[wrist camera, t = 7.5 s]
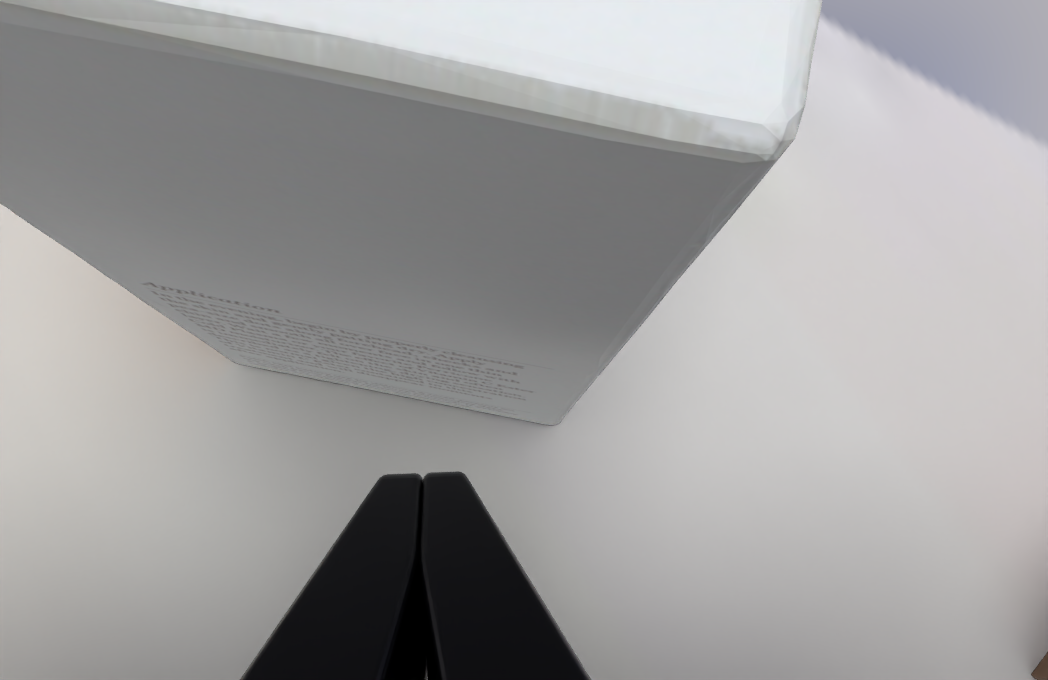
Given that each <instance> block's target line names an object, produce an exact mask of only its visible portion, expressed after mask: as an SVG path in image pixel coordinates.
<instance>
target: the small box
mask: <svg viewBox="0 0 1048 680" xmlns="http://www.w3.org/2000/svg"><path fill="white" fill-rule="evenodd" d="M821 5H822V0H0V203H1V204H2V205H4V206H5V207H7V208H8V209H10V210H11V211H12V212H14V213H15V214H16V215H18V216H19V217H21V218H22V219H24V220H25V221H27V222H28V223H30V224H31V225H33V226H34V227H36V228H37V229H38V230H40V231H41V232H43V233H44V234H46V235H47V236H49V237H50V238H52V239H53V240H55V241H56V242H58V243H59V244H61V245H62V246H64V247H65V248H67V249H68V250H70V251H71V252H73V253H74V254H76V255H77V256H79V257H80V258H82V259H83V260H84V261H86V262H87V263H89V264H90V265H91V266H93V267H94V268H96V269H97V270H99V271H100V272H101V273H103V274H104V275H106V276H107V277H109V278H110V279H112V280H113V281H115V282H117V283H118V284H120V285H121V286H122V287H124V288H125V289H127V290H128V291H129V292H131V293H132V294H134V295H135V296H136V297H138V298H139V299H141V300H142V301H143V302H145V303H146V304H148V305H149V306H151V307H152V308H154V309H155V310H157V311H158V312H160V313H162V314H163V315H164V316H166V317H167V318H169V319H170V320H172V321H173V322H175V323H176V324H178V325H179V326H181V327H182V328H184V329H185V330H187V331H189V332H190V333H192V334H193V335H195V336H196V337H198V338H199V339H201V340H202V341H204V342H205V343H207V344H208V345H209V346H211V347H212V348H214V349H215V350H217V351H218V352H220V353H221V354H222V355H224V356H225V357H226V358H228V359H230V360H231V361H233V362H234V363H237V364H241V365H247V366H252V367H257V368H262V369H267V370H272V371H277V372H282V373H288V374H293V375H298V376H303V377H308V378H313V379H318V380H323V381H328V382H333V383H338V384H343V385H349V386H354V387H359V388H364V389H369V390H374V391H379V392H384V393H389V394H394V395H399V396H404V397H409V398H414V399H419V400H424V401H429V402H434V403H439V404H444V405H449V406H454V407H459V408H464V409H469V410H475V411H480V412H485V413H490V414H495V415H500V416H505V417H510V418H515V419H520V420H525V421H530V422H535V423H540V424H546V425H557V424H559V423H560V422H561V421H562V419H563V418H564V417H565V415H566V414H567V413H568V412H569V410H570V409H571V408H572V407H573V406H574V404H575V403H576V402H577V401H578V400H579V398H580V397H581V396H582V395H583V394H584V392H585V391H586V390H587V389H588V388H589V386H590V385H591V384H592V383H593V382H594V380H595V379H596V378H597V377H598V376H599V375H600V373H601V372H602V371H603V370H604V369H605V368H606V366H607V365H608V364H609V363H610V362H611V360H612V359H613V358H614V357H615V356H616V355H617V353H618V352H619V351H620V350H621V349H622V347H623V346H624V345H625V344H626V343H627V341H628V340H629V339H630V338H631V337H632V335H633V334H634V333H635V332H636V331H637V329H638V328H639V327H640V326H641V325H642V323H643V322H644V321H645V320H646V319H647V317H648V316H649V315H650V314H651V313H652V311H653V310H654V309H655V308H656V306H657V305H658V304H659V303H660V301H661V300H662V299H663V298H664V296H665V295H666V294H667V293H668V291H669V290H670V289H671V288H672V286H673V285H674V284H675V283H676V281H677V280H678V279H679V278H680V277H681V276H682V274H683V273H684V272H685V271H686V270H687V269H688V267H689V266H690V265H691V264H692V263H693V261H694V260H695V259H696V258H697V257H698V256H699V254H700V253H701V252H702V251H703V250H704V249H705V247H706V246H707V245H708V244H709V243H710V241H711V240H712V239H713V238H714V237H715V236H716V234H717V233H718V232H719V231H720V230H721V228H722V227H723V226H724V225H725V224H726V223H727V221H728V220H729V219H730V218H731V217H732V215H733V214H734V213H735V212H736V210H737V209H738V208H739V207H740V206H741V204H742V203H743V202H744V201H745V199H746V198H747V197H748V196H749V194H750V193H751V192H752V191H753V190H754V188H755V187H756V186H757V185H758V183H759V182H760V181H761V180H762V179H763V177H764V176H765V175H766V174H767V172H768V171H769V170H770V169H771V167H772V166H773V165H774V164H775V163H776V161H777V160H778V159H779V158H780V156H781V155H782V154H783V153H784V152H785V150H786V149H787V148H788V147H789V145H790V144H791V143H792V142H793V140H794V139H795V137H796V134H797V130H798V127H799V124H800V120H801V117H802V114H803V110H804V107H805V102H806V96H807V89H808V82H809V75H810V68H811V63H812V57H813V51H814V45H815V40H816V34H817V28H818V22H819V16H820V11H821Z"/></svg>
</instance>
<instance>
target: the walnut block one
mask: <svg viewBox="0 0 1048 680" xmlns="http://www.w3.org/2000/svg"><path fill="white" fill-rule="evenodd" d="M1031 675H1032V676H1033V677H1034V678H1035V679H1036V680H1048V652H1047V653H1046V655H1045V656H1044V658H1043V659H1042V660H1041V662H1040V663H1039V664H1038V666H1037V667H1036V669H1035V670H1034V671H1033V673H1032V674H1031Z"/></svg>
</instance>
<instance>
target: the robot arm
mask: <svg viewBox="0 0 1048 680" xmlns="http://www.w3.org/2000/svg"><path fill="white" fill-rule="evenodd" d="M427 677H428V680H591V679H590V677H589V676H588V674H587V672H586V671H585V669H584V667H583V666H582V664H581V662H580V661H579V659H578V658H577V656H576V654H575V653H574V651H573V649H572V648H571V646H570V645H569V643H568V641H567V640H566V638H565V636H564V635H563V633H562V631H561V630H560V628H559V627H558V625H557V623H556V622H555V620H554V618H553V617H552V615H551V613H550V612H549V610H548V609H547V607H546V605H545V604H544V602H543V600H542V599H541V597H540V596H539V594H538V592H537V591H536V589H535V587H534V586H533V584H532V582H531V581H530V579H529V578H528V576H527V574H526V573H525V571H524V569H523V568H522V566H521V564H520V563H519V561H518V560H517V558H516V556H515V555H514V553H513V551H512V550H511V548H510V547H509V545H508V543H507V542H506V540H505V538H504V537H503V535H502V533H501V532H500V530H499V529H498V527H497V525H496V524H495V522H494V520H493V519H492V517H491V515H490V514H489V512H488V511H487V509H486V507H485V506H484V504H483V502H482V501H481V499H480V497H479V496H478V494H477V493H476V491H475V489H474V488H473V486H472V484H471V483H470V481H469V480H468V478H467V477H466V475H465V474H464V473H462V472H437V473H428V474H426V475H425V476H424V478H423V479H422V477H421V476H420V475H419V474H416V473H412V474H387V475H383V476H382V477H380V478H379V480H378V481H377V482H376V484H375V485H374V487H373V488H372V489H371V491H370V492H369V494H368V495H367V497H366V498H365V500H364V501H363V502H362V504H361V505H360V507H359V508H358V510H357V511H356V513H355V514H354V516H353V517H352V518H351V520H350V521H349V523H348V524H347V526H346V527H345V529H344V530H343V531H342V533H341V534H340V536H339V537H338V539H337V540H336V542H335V543H334V544H333V546H332V547H331V549H330V550H329V552H328V553H327V555H326V556H325V557H324V559H323V560H322V562H321V563H320V565H319V566H318V568H317V569H316V571H315V572H314V573H313V575H312V576H311V578H310V579H309V581H308V582H307V584H306V585H305V586H304V588H303V589H302V591H301V592H300V594H299V595H298V597H297V598H296V599H295V601H294V602H293V604H292V605H291V607H290V608H289V610H288V611H287V612H286V614H285V615H284V617H283V618H282V620H281V621H280V623H279V624H278V626H277V627H276V628H275V630H274V631H273V633H272V634H271V636H270V637H269V639H268V640H267V641H266V643H265V644H264V646H263V647H262V649H261V650H260V652H259V653H258V654H257V656H256V657H255V659H254V660H253V662H252V663H251V665H250V666H249V667H248V669H247V670H246V672H245V673H244V675H243V676H242V678H241V679H240V680H427Z"/></svg>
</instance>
